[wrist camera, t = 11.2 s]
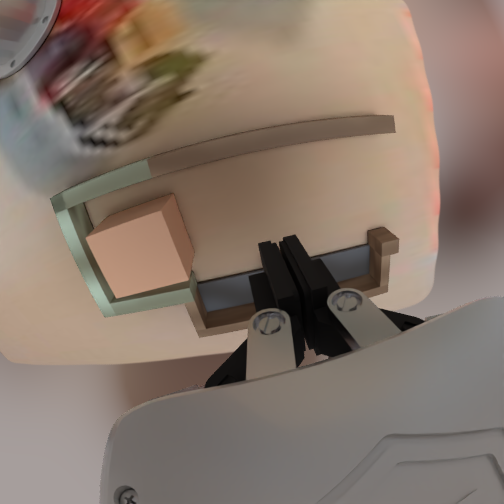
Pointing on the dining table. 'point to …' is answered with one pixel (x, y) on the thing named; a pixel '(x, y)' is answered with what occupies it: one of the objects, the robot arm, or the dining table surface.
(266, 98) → the dining table surface
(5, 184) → the dining table surface
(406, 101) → the dining table surface
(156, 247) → the block
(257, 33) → the dining table surface
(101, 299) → the box
